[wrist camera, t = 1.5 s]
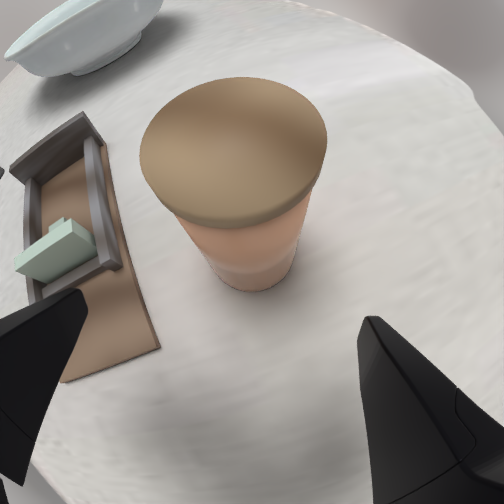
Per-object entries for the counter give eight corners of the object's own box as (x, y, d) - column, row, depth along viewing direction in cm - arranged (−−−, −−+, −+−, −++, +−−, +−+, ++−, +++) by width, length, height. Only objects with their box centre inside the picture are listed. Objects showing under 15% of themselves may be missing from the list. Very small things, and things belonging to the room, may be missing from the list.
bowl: (17, 108, 35) (-15, 66, 21) (111, 22, 43) (95, -18, 29) (95, 116, 29) (46, 37, 15) (217, 13, 37) (207, -46, 23)
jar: (282, 304, 20) (306, 240, 8) (196, 279, 21) (108, 192, 9) (304, 222, 22) (336, 92, 10) (224, 202, 23) (186, 73, 11)
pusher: (103, 251, 21) (72, 231, 16) (48, 284, 20) (15, 271, 16) (96, 212, 22) (68, 188, 18) (43, 246, 22) (14, 229, 17)
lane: (160, 347, 19) (124, 346, 14) (65, 382, 18) (21, 385, 13) (106, 143, 26) (83, 110, 21) (37, 189, 25) (9, 165, 20)
